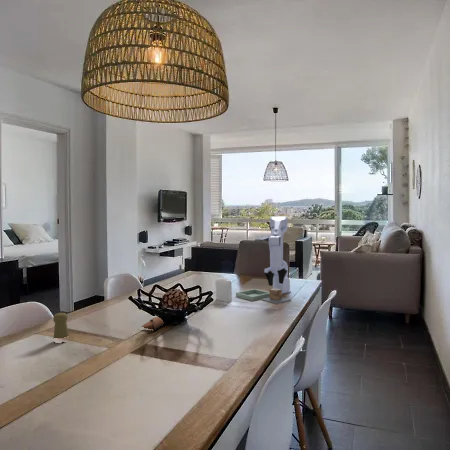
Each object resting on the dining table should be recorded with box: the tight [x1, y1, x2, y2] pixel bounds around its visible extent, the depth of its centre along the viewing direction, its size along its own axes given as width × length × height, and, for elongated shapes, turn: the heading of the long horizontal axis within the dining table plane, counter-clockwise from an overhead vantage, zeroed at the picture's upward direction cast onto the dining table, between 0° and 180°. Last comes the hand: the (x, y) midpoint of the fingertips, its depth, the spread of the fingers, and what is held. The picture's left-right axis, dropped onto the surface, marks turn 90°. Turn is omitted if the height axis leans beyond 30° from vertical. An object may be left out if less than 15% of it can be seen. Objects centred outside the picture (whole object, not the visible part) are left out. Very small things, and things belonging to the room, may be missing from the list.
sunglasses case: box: [142, 316, 165, 330], centre depth 172 cm, size 18×7×7 cm, turn 160°
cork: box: [52, 312, 70, 339], centre depth 154 cm, size 6×6×11 cm
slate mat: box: [261, 296, 292, 305], centre depth 208 cm, size 11×11×1 cm
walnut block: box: [269, 288, 283, 300], centre depth 208 cm, size 4×5×5 cm
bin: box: [235, 288, 270, 302], centre depth 218 cm, size 14×14×2 cm
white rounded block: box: [215, 277, 233, 303], centre depth 211 cm, size 10×4×12 cm, turn 39°
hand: (276, 284), depth 208 cm, fingers open, 7 cm apart
